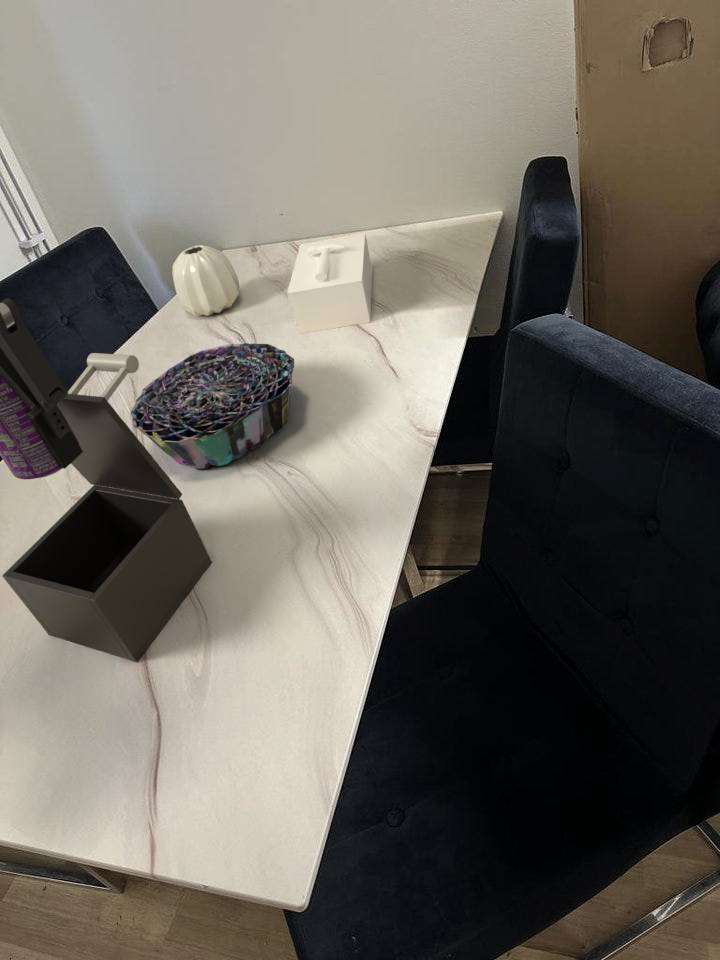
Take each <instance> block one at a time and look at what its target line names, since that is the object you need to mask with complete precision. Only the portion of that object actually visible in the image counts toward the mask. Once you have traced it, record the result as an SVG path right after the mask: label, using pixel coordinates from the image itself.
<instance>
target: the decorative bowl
mask: <svg viewBox="0 0 720 960" xmlns="http://www.w3.org/2000/svg"><path fill="white" fill-rule="evenodd" d="M294 368H295V358H294V357H292V356H291V355H289V354H288V353H287V352H286V350H284V349H280V348H278V347H277V346H274V345H272V344H270V343H247V342H245V343H228V344H223V345H218V346H215V347H213V348H207V349H203V350H200V351H198V352H196V353H193V354H191V355H189V356H187V357H186V358H184V359H183V360H182V361H180V362H178V363H176V364H174V365H173V366H171V367H169V368H168V369H167V370H166V371H164V372H163V373H162V374H160V375H159V376H158V377H157V378H155V379H153V380H152V381H151V382H150V383H149V384H147V385H146V386H145V387H144V388H143V389H142V390H141V393H140V395H139V396H138V397H137V398H136V399H135V403H134V404H133V407H132V409H131V411H130V416H131V418H132V425H133V428H135V429H137V430H138V431H139V432H141V433H142V434H143V435H144V436H146V437H147V438H148V439H149V440H150V441H152V443H154V444H155V445H156V446H157V448H159V449H161V450H162V451H163V453H165V454H166V455H167V456H169V457H170V458H171V459H173V460H174V461H175V462H176V463H178V464H179V465H183V466H187V465H188V466H189V467H190V468H192V469H195V470H198V471H201V470H206V469H208V468H209V467H211V466H216V467H224V466H226V465H229V464H230V463H232V461H233V460H234V461H235V460H237V459H239V458H242V457H243V456H244V455H245V454H246V453H247V452H248V451H253V450H256V449H257V448H258V447H260V446H261V445H262V444H263V442H264V441H265V440H268V439H269V438H270V437H271V435H274V434H278V433H279V432H281V431H282V430H283V429H284V428H285V427H286V426H287V420H288V411H289V406H290V402H291V401H290V400H291V389H292V388H291V387H292V384H293V376H292V374H293V373H294Z"/></svg>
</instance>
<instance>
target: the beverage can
mask: <svg viewBox="0 0 720 960" xmlns="http://www.w3.org/2000/svg"><path fill="white" fill-rule="evenodd" d="M35 399H36V398H35ZM59 409H60V408H59ZM30 411H31V410H30V409H29V408H28V406H27V405H26V404H25V403H24V402H23V401H22V400H21V399H20V397H19V396H18V395H17V394H16V393H15V392H14V391H13V390H12V389H11V387H10V386H9V385H8V384H7V383H6V382H5V381H4V380H3V378H2V377H1V376H0V457H1V459H2V460H3V462H4V463H5V465H6V466H7V468H8V470H9V471H10V472H11V474H12V475H13V477H14V478H17V479H20V480H34V479H41V478H42V479H43V478H45V477H49V476H51V475H54V474H56V473H58V472H60V471H61V470H62V469H63V468H59V466H58V464H57V463H56V461H55V459H54V458H53V456H52V455H51V453H50V451H49V450H48V448H47V446H46V445H45V443H44V442H43V440H42V438H41V437H40V435H39V434H38V432H37V430H36V429H35V427H34V425H33V424H32V422H31V421H30V419H29V418H28V417H27V416H26V414H27V413H29V412H30ZM60 411H61V410H60ZM63 416H64V415H63ZM64 418H65V417H64ZM66 422H67V421H66ZM67 423H68V422H67ZM68 425H69V424H68ZM69 427H70V426H69ZM70 430H71V432H72V434H73V435H74V437H75V439H76V441H77V442H78V444H79V441H78V440H77V438H76V436H75V434H74V433H73V431H72V429H71V427H70ZM79 446H80V444H79Z"/></svg>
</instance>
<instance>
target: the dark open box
mask: <svg viewBox="0 0 720 960" xmlns="http://www.w3.org/2000/svg"><path fill="white" fill-rule="evenodd" d="M212 563H213V561H212V559H211V557H210V554H209V552H208V550H207V548H206V546H205V544H204V543H203V539H202V538H201V536H200V534H199V531H198V530H197V528H196V525H195V523H194V522H193V519H192V518H191V515H190V513H189V511H188V510H187V506H186V505H185V503H184V501H183V499H181V498H180V499H175V498H169V497H163V496H157V495H151V494H145V493H139V492H133V491H128V490H122V489H116V488H110V487H104V486H98V485H92V486H91V487H90V489H88V490H87V491H86V492H85V493H84V494H83V496H81V497H80V498H79V499H78V500H77V501H76V502H74V504H73V505H72V506H71V507H70V508H69V509H68V510H67V511H66V512H65V513H64V514H62V515H61V517H60V518H59V519H58V520H56V522H55V523H54V524H53V525H52V526H51V527H50V528H49V529H48V530H47V531H46V532H45V533H44V534H42V536H40V537H39V539H38V540H36V542H34V543H33V545H31V546H30V548H29V549H28V550H26V551H25V552H24V553H23V554H22V555H21V556H20V557H19V558H18V559H17V560H16V561H15V562H14V563H13V564H12V565H11V566H10V567H9V568H8V569H7V570H6V571H5V572H4V573H3V574H2V575H1V576H2V578H3V579H4V580H5V582H6V583H7V585H8V586H9V587H10V588H11V589H12V590H13V592H14V593H15V594H16V596H17V597H18V598H19V599H20V600H21V602H22V603H23V604H24V606H25V607H26V608H27V609H28V611H29V612H30V613H31V614H32V616H33V617H34V618H35V619H36V621H37V622H38V623H39V625H40V626H41V627H42V628H43V630H44V631H45V632H46V633H47V635H48V636H51V637H53V638H54V637H55V638H58V639H61V640H63V641H67V642H71V643H74V644H76V645H80V646H82V647H85V648H89V649H93V650H95V651H99V652H103V653H106V654H108V655H111V656H115V657H118V658H122V659H125V660H128V661H132V662H134V663H138V662H139V661H140V659H141V658H142V657H143V655H144V654H145V653H146V651H147V650H148V649H149V647H150V646H151V645H152V643H153V642H154V640H155V639H156V638H157V637H158V635H159V634H160V633H161V632H162V630H163V628H164V627H165V626H166V624H167V623H168V622H169V621H170V619H171V618H172V617H173V615H174V614H175V612H176V611H177V610H178V608H179V607H180V605H181V604H182V603H183V602H184V600H185V599H186V598H187V596H188V595H189V594H190V592H191V591H192V590H193V588H194V587H195V586H196V584H197V583H198V582H199V580H200V579H201V578H202V576H203V575H204V574H205V572H206V571H207V570H208V568H209V567H210V566H211V564H212Z"/></svg>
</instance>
